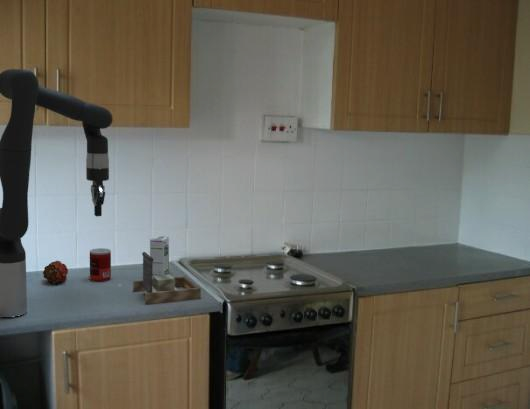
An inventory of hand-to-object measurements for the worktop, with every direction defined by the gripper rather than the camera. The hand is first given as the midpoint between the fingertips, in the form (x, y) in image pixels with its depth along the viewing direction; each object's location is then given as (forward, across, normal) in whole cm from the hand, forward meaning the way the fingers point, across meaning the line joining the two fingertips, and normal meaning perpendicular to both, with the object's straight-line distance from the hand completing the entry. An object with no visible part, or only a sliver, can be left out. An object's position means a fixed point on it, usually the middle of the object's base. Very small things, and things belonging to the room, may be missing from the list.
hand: (98, 215), depth 222 cm
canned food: (+27, -15, +4) cm, 31 cm away
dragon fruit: (+27, -17, -12) cm, 34 cm away
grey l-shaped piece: (+26, +14, +19) cm, 35 cm away
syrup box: (+27, -15, +27) cm, 41 cm away
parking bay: (+27, +14, +20) cm, 36 cm away
